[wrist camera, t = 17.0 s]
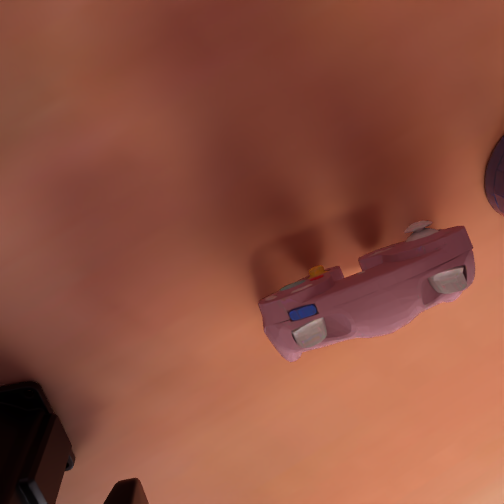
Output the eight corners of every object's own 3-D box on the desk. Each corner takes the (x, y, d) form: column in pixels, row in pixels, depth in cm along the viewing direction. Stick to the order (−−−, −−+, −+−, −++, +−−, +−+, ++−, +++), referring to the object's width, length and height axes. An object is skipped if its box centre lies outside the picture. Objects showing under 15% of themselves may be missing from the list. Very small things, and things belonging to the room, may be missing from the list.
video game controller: (421, 214, 23) (487, 200, 16) (452, 293, 23) (531, 313, 16) (249, 280, 24) (241, 295, 17) (279, 358, 24) (284, 406, 17)
